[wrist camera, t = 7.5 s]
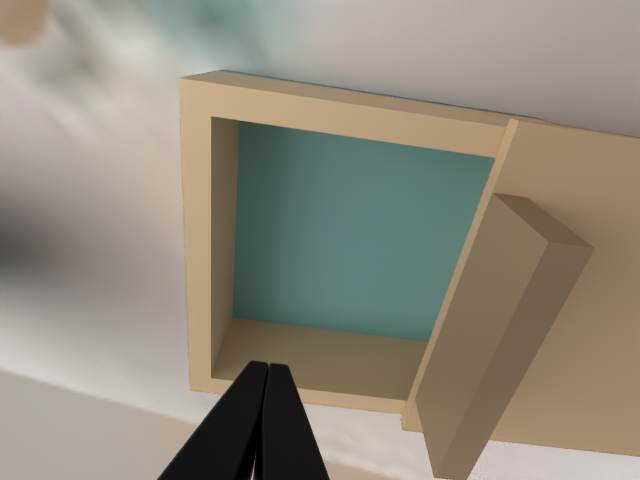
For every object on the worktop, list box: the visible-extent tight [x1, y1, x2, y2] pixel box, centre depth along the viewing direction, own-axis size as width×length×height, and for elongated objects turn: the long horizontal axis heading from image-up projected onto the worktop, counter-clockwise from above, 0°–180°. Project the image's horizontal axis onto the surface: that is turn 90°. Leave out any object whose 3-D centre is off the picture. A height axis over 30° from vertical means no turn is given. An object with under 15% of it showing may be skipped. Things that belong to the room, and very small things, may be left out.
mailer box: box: [179, 70, 556, 414], centre depth 17 cm, size 14×14×5 cm
